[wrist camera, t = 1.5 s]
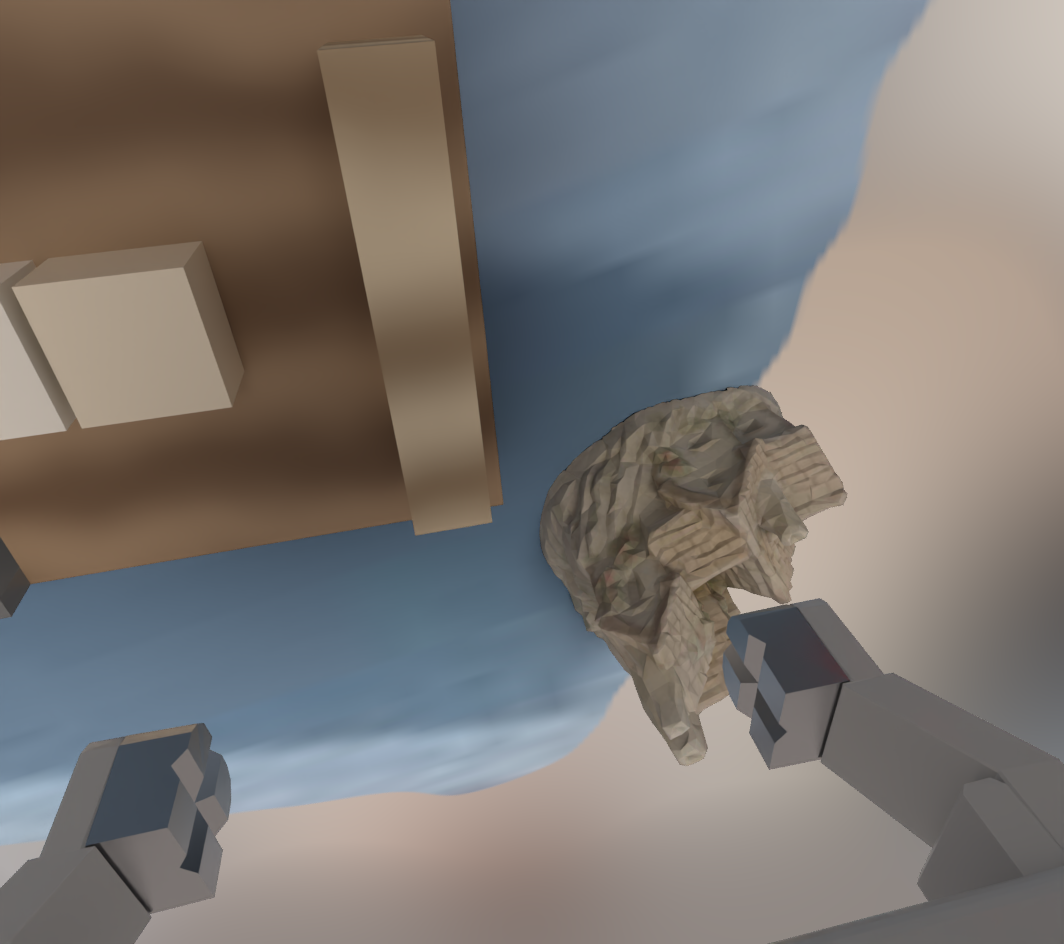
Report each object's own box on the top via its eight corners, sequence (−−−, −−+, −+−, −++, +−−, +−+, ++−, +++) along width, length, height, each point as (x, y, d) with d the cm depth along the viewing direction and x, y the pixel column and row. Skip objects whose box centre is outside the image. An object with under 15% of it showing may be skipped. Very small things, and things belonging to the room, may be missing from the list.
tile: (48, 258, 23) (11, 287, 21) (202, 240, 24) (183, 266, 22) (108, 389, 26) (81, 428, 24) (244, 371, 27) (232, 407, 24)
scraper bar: (326, 42, 22) (317, 50, 18) (422, 34, 22) (434, 41, 18) (409, 465, 31) (415, 535, 27) (475, 455, 31) (492, 522, 27)
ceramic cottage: (585, 652, 46) (681, 874, 33) (502, 458, 37) (589, 660, 24) (798, 558, 46) (971, 741, 34) (766, 344, 37) (985, 485, 25)
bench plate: (-258, -34, 21) (-372, -41, 18) (430, -74, 24) (440, -88, 20) (63, 528, 34) (30, 584, 30) (491, 459, 36) (503, 504, 33)
